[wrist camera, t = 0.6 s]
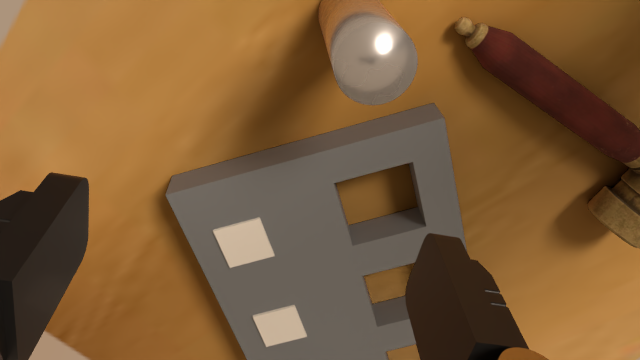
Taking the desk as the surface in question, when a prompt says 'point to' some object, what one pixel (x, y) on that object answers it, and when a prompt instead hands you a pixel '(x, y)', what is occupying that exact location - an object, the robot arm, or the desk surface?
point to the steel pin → (367, 50)
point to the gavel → (568, 117)
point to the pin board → (316, 237)
